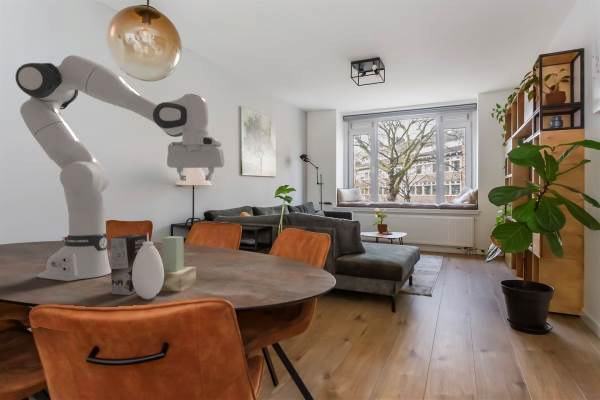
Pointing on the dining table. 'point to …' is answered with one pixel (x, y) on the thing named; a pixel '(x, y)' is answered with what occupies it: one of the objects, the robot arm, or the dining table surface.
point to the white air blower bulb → (148, 271)
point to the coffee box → (124, 262)
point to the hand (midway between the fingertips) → (195, 180)
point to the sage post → (173, 253)
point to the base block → (179, 279)
